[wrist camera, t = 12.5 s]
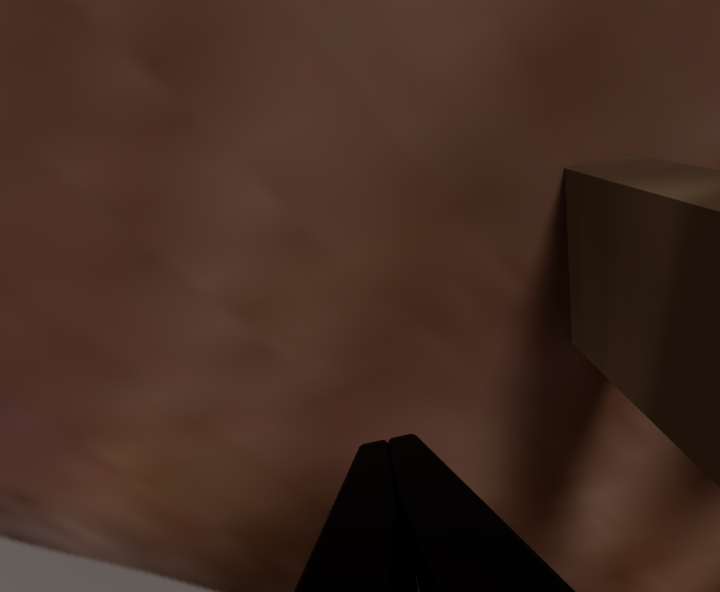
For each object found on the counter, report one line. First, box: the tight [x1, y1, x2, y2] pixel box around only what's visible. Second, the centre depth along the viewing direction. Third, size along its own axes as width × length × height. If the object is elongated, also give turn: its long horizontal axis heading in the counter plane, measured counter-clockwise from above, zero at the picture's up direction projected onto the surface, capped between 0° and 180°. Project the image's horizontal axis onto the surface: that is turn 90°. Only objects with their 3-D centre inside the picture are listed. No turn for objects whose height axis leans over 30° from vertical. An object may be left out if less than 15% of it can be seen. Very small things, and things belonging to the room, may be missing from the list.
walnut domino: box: [565, 154, 720, 488], centre depth 9 cm, size 2×5×8 cm, turn 12°
